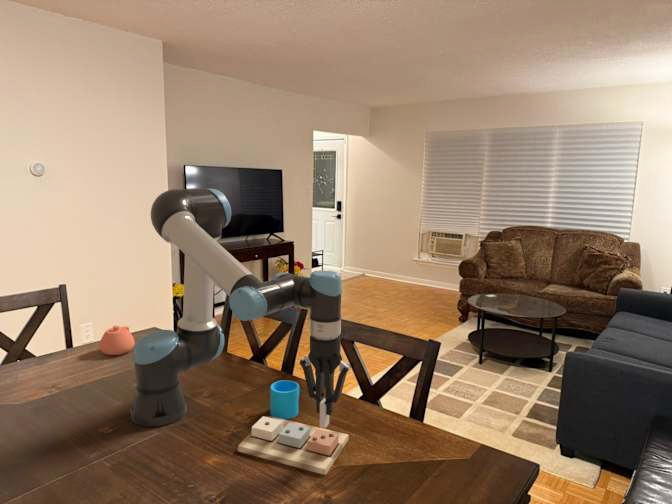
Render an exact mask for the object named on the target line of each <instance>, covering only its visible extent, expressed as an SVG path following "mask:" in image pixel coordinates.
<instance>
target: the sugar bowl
mask: <svg viewBox="0 0 672 504" xmlns="http://www.w3.org/2000/svg"><path fill="white" fill-rule="evenodd" d="M135 344H136V342H135V338H134V336H133V334H132V333H131V332H130V328H129V326H127V325H124V326H120V325H113V326H112V327H111V328H108V329H106V330H105V332H104V333H103V335H102V336H101V338H100V341H99V345H98V348H99V350H100V351H101V353H103V354H104V355H108V356H122V355H124V354H127V353H129V352H131V350H132V349H133V348H135Z"/></svg>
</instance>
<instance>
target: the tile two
mask: <svg viewBox="0 0 672 504" xmlns="http://www.w3.org/2000/svg"><path fill="white" fill-rule="evenodd" d="M278 436H279V443H281V445H284V446H288V447H292V448H296V449H302V447H303V446H304V445H305V444H306V443H307V439H308V438H309V437H310V427H307V426H303V425H298V424H294V423H290V422H289V423H288V425H287V426H286V427H285V428H284V429H283V430H282V431H281V432H280V433H279V434H278Z"/></svg>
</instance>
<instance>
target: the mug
mask: <svg viewBox="0 0 672 504" xmlns="http://www.w3.org/2000/svg"><path fill="white" fill-rule="evenodd" d="M269 391H270V392H269V393H270V395H269V396H270V416H272V417H276V418H280V419H284V420H290V419H293V418H296V416H297V415H298V414H299V397H300V393H301V386H300V385H299V383H298V382H296V381H293V380H288V379H287V380H285V379H284V380H278V381H275V382H273V383H272V384H271V385H270V390H269Z"/></svg>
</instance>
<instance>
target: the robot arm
mask: <svg viewBox="0 0 672 504" xmlns="http://www.w3.org/2000/svg"><path fill="white" fill-rule="evenodd" d="M231 218H232V208H231V204H230V202H229V200H228V198H227V197H226V195H225V194H224V193H223V192H222V191H221V190H218V189H215V188H205V187H200V188H198V187H197V188H183V189H180V188H176V189H173V188H172V189H169V190H165V191H164V192H162V193H160V194H159V195H158V196H157V197H156V198H155V200H153V203H152V205H151V209H150V220H151V224H152V226H153V229H154V230H155V232H156V233H157V234H158V236H160V237H161V238H162V239H163V240H164V241H165V242H166V243H168V244H174V245H175V246H176V247H177V248H178V249H179V250H180V251H181V252H182V253H183V254H184V269H183V271H184V274H183V299H182V300H183V302H182V303H183V308H182V317H181V318H180V319H179V320H177V324H176V326H177V327H176V328H177V329H176V331H175V330H171V329H160V330H155V331H151V332H149V333H145V334H144V335H142V336H140V337H139V338H138V339H137V340H136V342H135V345H134V347H133V348H134V350H133V351H134V353H133V361H134V369H135V372H134V373H135V390H136V391H135V395H134V398H133V401H132V405H131V409H130V419H131V422H133V423H134V424H136V425H137V426H141V427H147V428H149V427H150V428H151V427H154V428H155V427H162V426H165V425H169V424H172V423H175V422H176V421H178V420H180V419H182V418H183V417H184V416H185V415H186V413H187V411H188V410H187V409H188V407H187V400H186V398H185V397H184V393H183V390H182V388H181V385H180V384H181V383H180V374H181V373H183V372H185V371H187V370H190V369H193V368H196V367H197V366H200V365H203V364H204V365H205V364H208V363H210V362H211V361H213V360H214V359H216V358H218V357H219V356H220V355H221V354H222V352H223V349H224V346H225V335H224V333H222V332H223V329H222V327H221V326H220V325H219V324H218V321H217V320H216V318H214V317H213V311H214V310H213V309H214V308H213V307H214V291H215V288H214V287H215V284H216V285H217V287H219V288H220V289H221V290H222V291H223V292H224V293H225V294H226V295H227V296H228V297H229V301H228V303H229V308H230V310H231V311H232V315H233V316H234V317H235V318H236V319H237V320H239V321H243V322H247V321H252V320H256V319H260V318H262V317H265V316H267V315H271V314H272V313H277V312H280V311H282V310H286V309H287V308H291V307H299V308H303V309H309V334H310V335H309V352H308V354H307V355H308V356H304V357H303V358H301V360H300V361H299V365H300V366H301V368H302V370H303V375H304V379H305V383H306V388H307V392H308V397H309V398H310V399H314V400H315V401H316V402H315V403H316V405H315V406H316V410H315V411H316V413H317V414H319V428H323V429H327V427H328V425H329V424H330V416H331V415H332V413H333V410H334V406H333V405H334V403H337V402H338V401H339V399H341V397H342V391H343V388H344V384H345V381H346V377H347V373H348V372H349V370H350V369H351V368H352V366H351V364H350V363H345V362H344V361H343V357H342V354H341V348H342V347H341V346H342V345H341V343H342V340H341V339H342V338H341V336H340V335H341V334H342V314H341V313H342V312H341V310H342V309H341V308H342V307H341V306H342V293H343V290H342V289H343V288H342V278H341V277H342V276H341V275H340V274H339V273H338V272H337V271H333V270H317V271H316V270H315V271H313V272H311V273H310V275H309V277H308V276H301V275H296V274H293V273H289V272H288V273H284V272H283V273H282V272H281V273H280V272H278V273H277V274H274V275H273V277H271V278H270V280H266V281H261V280H260V279H259V278H258V277H256V275H254V273H252V272H251V271H250V270H249V269H248V268H246V267H245V265H243V264H242V263H241V262H240V261H239V260H238V259H236V258H235V257H234V256H233V255H232V254H231V253H230V252H229V251H227V249H225V248H224V247H223V246H222V244H220V243H219V242H218V240H220V239H221V238H222V231H223V230H222V229H224V228H226V227H227V226H228V225H229V223H230V221H231ZM338 366H339V374H338V378H337V381H336V384H334V383H335V377H334V376H335V372H336V371H335V370H337V368H338ZM313 368H314V370H313ZM314 373H315V374H314ZM334 385H335V386H334Z"/></svg>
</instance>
